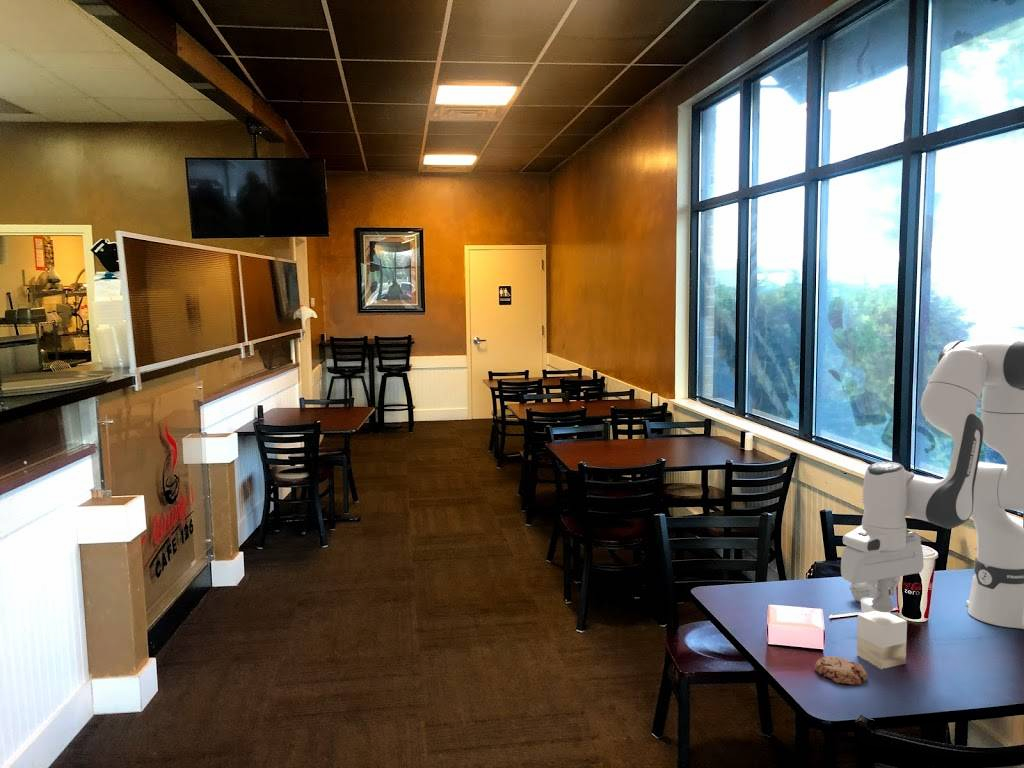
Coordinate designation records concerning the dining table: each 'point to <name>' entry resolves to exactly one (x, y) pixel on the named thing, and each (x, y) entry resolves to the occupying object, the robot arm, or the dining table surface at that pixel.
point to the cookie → (841, 670)
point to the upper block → (882, 628)
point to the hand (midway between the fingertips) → (882, 596)
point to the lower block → (881, 653)
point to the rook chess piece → (883, 597)
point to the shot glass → (867, 605)
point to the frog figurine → (859, 591)
